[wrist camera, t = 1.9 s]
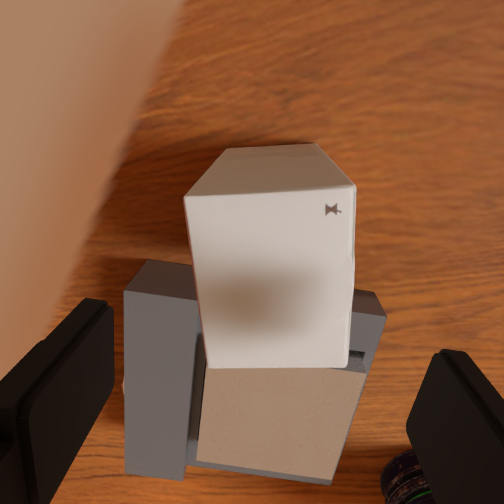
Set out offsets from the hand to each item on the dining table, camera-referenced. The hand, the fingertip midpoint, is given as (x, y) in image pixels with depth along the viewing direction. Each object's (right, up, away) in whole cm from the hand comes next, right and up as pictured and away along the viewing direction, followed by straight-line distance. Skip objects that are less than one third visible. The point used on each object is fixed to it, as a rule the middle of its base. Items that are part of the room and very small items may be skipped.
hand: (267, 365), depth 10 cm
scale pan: (+1, -8, +19) cm, 21 cm away
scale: (-1, -7, +21) cm, 22 cm away
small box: (+1, +7, +16) cm, 17 cm away
